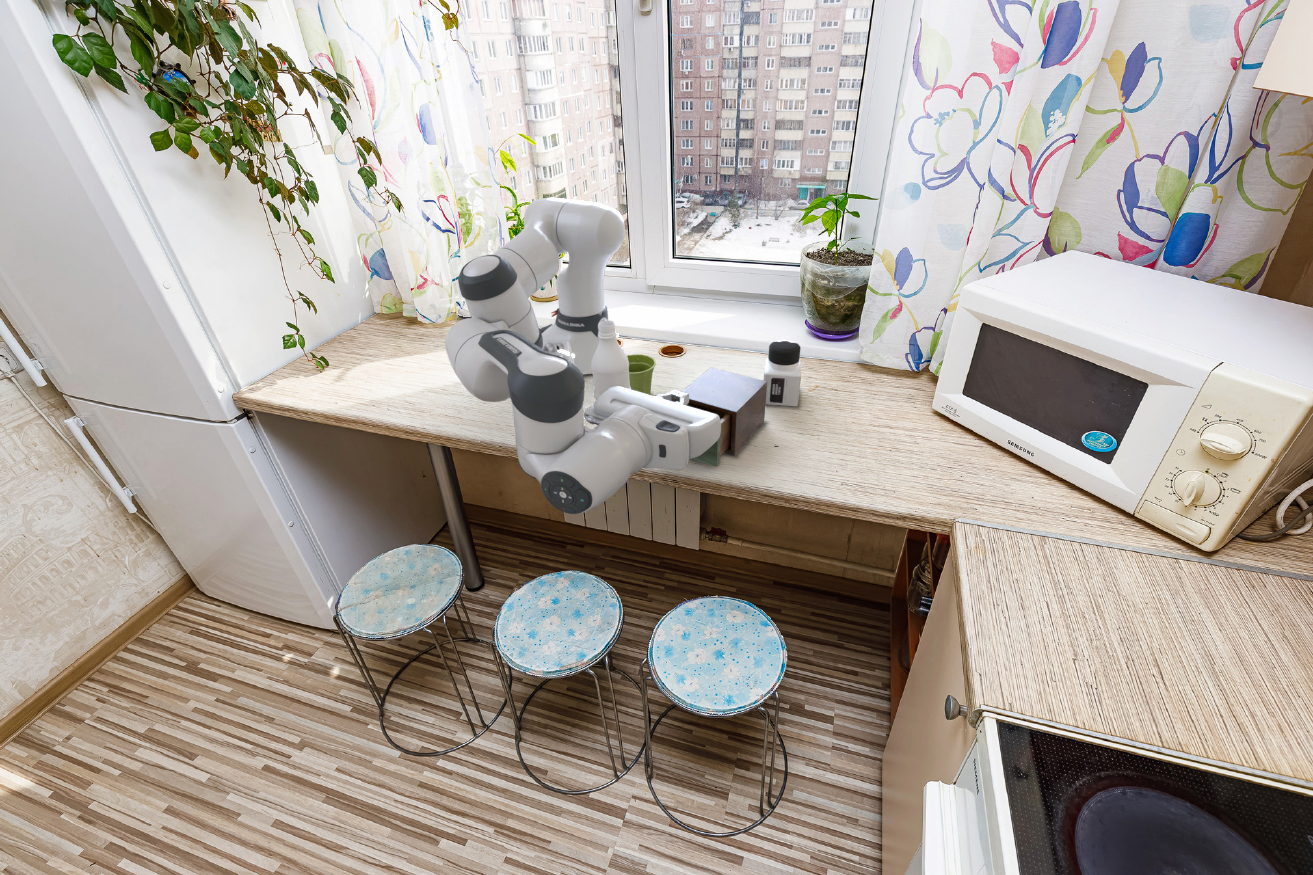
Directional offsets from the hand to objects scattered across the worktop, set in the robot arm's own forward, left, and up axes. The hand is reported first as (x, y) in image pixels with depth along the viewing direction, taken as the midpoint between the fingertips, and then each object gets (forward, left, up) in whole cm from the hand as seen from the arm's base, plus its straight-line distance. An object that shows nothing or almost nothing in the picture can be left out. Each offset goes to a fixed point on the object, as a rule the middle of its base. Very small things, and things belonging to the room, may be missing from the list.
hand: (681, 395), depth 97 cm
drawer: (-3, +13, -18) cm, 23 cm away
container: (+2, +39, -19) cm, 44 cm away
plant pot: (-26, +23, -19) cm, 40 cm away
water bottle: (-20, +7, -19) cm, 29 cm away
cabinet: (-3, +21, -19) cm, 28 cm away
